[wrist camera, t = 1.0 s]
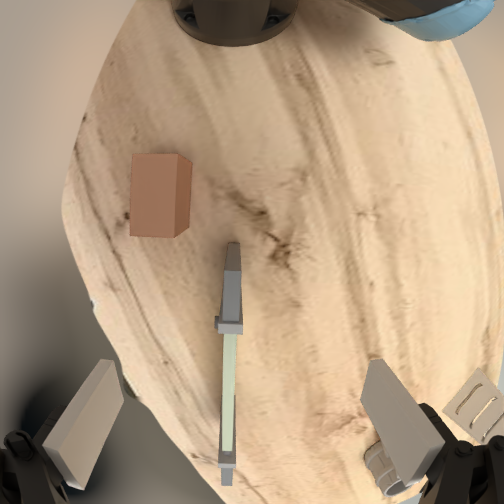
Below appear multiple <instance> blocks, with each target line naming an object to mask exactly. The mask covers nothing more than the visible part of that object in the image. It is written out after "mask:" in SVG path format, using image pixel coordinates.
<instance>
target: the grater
mask: <svg viewBox="0 0 504 504" xmlns="http://www.w3.org/2000/svg"><path fill="white" fill-rule="evenodd" d="M479 383H481V384H482V385H483V386H481V387H478V388H477V389H476V391H475V392H474V393H473V394H472V395H471V397H470V398H469V399H468V400H467V401H466V403H465V404H464V405H463V406H462V407H461V408H460V410H459V413H458V415H457V414H456V413H455V412H456V410H457V407H458V406H459V405H460V404H461V403H462V402H463V400H464V399H465V398H466V397H467V396H468V394H469V393H470V392H471V391H472V390H473V388H474V387H475V386H476V385H478V384H479ZM493 397H495V398H496V399H494V400H492V402H491V403H490V404H489V406H488V407H487V408H486V409H485V410H484V411H483V413H482V414H481V415H480V416H479V417H478V418H477V420H476V421H475V422H474V423H473V424H472V422H473V420H474V418H475V417H476V416H477V415H478V414H479V413H480V411H481V410H482V409H483V408H484V407H485V405H486V404H487V403H488V402H489V401H490V399H492V398H493ZM442 412H443V413H445V414H446V415H447V416H448V417H449V418H450V419H452V420H453V421H454V422H455V423H456V424H457V425H459V426H460V427H461V428H462V429H463V430H464V431H466V432H467V433H468V434H469V435H470V436H471V437H473V438H474V439H475V440H476V441H477V442H478V443H480V444H481V445H485V444H487V443H488V442H489V440H490V439H491V438H492V437H493V436H496V435H502V436H504V396H503V395H502V393H501V392H500V391H499V390H498V389H497V387H496V386H495V385H494V384H493V383H492V382H491V381H490V380H489V379H488V377H487V376H486V375H485V374H484V373H483V372H482V371H481V370H480V369H479V368H477V369H476V371H475V372H474V373H473V374H472V376H471V377H470V378H469V380H468V381H467V382H466V383H465V385H464V386H463V387H462V388H461V389H460V391H459V392H458V393H457V394H456V395H455V396H454V398H453V399H452V400H451V401H450V402H449V403H448V404H447V406H446V407H445V408H444V409H443V410H442ZM502 413H503V414H502ZM501 414H502V415H501ZM500 415H501V416H500ZM499 416H500V417H499ZM497 419H498V420H497ZM496 420H497V421H496ZM495 421H496V422H495ZM494 422H495V423H494ZM493 423H494V424H493ZM491 426H492V427H491ZM490 427H491V428H490ZM489 428H490V429H489ZM488 429H489V430H488ZM487 430H488V431H487ZM486 431H487V433H486ZM485 433H486V436H485V437H484V436H483V435H484V434H485Z"/></svg>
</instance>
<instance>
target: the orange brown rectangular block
mask: <svg viewBox="0 0 504 504" xmlns="http://www.w3.org/2000/svg"><path fill="white" fill-rule="evenodd" d="M191 175H192V163H191V162H190V161H188V160H187V159H186V158H184V157H183V156H181V155H180V154H178V153H157V154H133V158H132V173H131V193H130V236H142V237H165V238H175V237H176V236H178V235H179V234H180V233H182V232H183V231H185V230H186V229H187V228H189V216H190V193H191Z"/></svg>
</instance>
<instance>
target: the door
mask: <svg viewBox="0 0 504 504" xmlns="http://www.w3.org/2000/svg"><path fill="white" fill-rule="evenodd" d="M218 321H219V316H215V328H218ZM236 341H237V334H224V343H223V399H222V451H223V454H224V455H227V456H228V455H231V451H232V443H233V414H234V388H235V364H236Z"/></svg>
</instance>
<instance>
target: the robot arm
mask: <svg viewBox="0 0 504 504" xmlns="http://www.w3.org/2000/svg"><path fill="white" fill-rule="evenodd" d="M345 1H347V2H350V3H352V4H354V5H356V6H358V7H360V8H362V9H363V10H365V11H367V12H369V13H371V14H373V15H375V16H376V17H378V18H379V19H380V20H381V21H382V22H384V23H386V24H390V25H394V26H396V27H397V28H399V29H401V30H403V31H404V32H406V33H408V34H410V35H411V36H413V37H415V38H417V39H419V40H423V41H445V40H449V39H452V38H455V37H457V36H459V35H461V34H464V33H465V32H467V31H469V30H470V29H472V28H473V27H474V26H476V25H477V24H479V23H480V22H481V21H482V20H483V19H484V18H485V17H486V16H487V15H488V14H489V13H490V12H491V10H492V9H493V7H494V3H493V1H495V0H345ZM297 4H298V0H172V8H173V11H174V14H175V17H176V19H177V22H178V23H179V25H180V26H181V27H182V29H183V30H184V31H186V32H187V33H188V34H189V35H191V36H193V37H194V38H196V39H198V40H201V41H203V42H206V43H210V44H214V45H220V46H246V45H252V44H256V43H260V42H263V41H265V40H268V39H270V38H272V37H274V36H276V35H277V34H279V33H280V32H282V31H283V30H284V29H285V28H286V27H287V26H288V25H289V23H290V22H291V20H292V19H293V16H294V14H295V11H296V8H297ZM360 401H361V403H362V405H363V406H364V408H365V410H366V412H367V414H368V416H369V418H370V420H371V421H372V423H373V425H374V427H375V429H376V431H377V433H378V435H379V437H380V439H381V441H382V442H383V444H384V446H385V448H386V450H387V452H388V454H389V456H390V458H391V460H392V462H393V464H394V466H395V468H396V470H397V472H398V474H399V476H400V477H401V479H402V481H403V483H404V485H405V487H407V486H410V485H413V484H416V483H418V482H420V481H421V480H422V478H423V477H424V475H425V474H426V476H427V478H428V481H427V482H426V483H425V485H424V486H423V488H422V489H421V490H420V492H419V493H422V491H423V493H422V496H421V498H420V501H419V504H504V436H502V435H496V436H493V437H492V438H491V439H490V440H489V442H488V443H487V444H485V445H479V446H473V445H472V444H471V443H469V442H467V441H462V440H459V441H458V440H457V439H456V437H455V436H454V435H453V433H452V432H451V431H450V429H449V428H448V427H447V426H446V424H445V423H444V422H442V419H441V418H440V417H439V416H438V414H437V413H436V412H435V410H434V409H433V408H432V407H430V406H429V405H427V404H426V403H422V404H417V403H416V401H415V400H414V399H413V397H412V396H411V395H410V393H409V392H408V391H407V389H406V388H405V387H404V386H403V384H402V383H401V382H400V380H399V379H398V378H397V376H396V375H395V374H394V373H393V371H392V370H391V369H390V367H389V366H388V365H387V364H386V362H385V361H384V360H383V359H377V360H370V363H369V367H368V371H367V375H366V379H365V383H364V387H363V391H362V395H361V398H360ZM123 402H124V399H123V396H122V392H121V388H120V384H119V381H118V377H117V372H116V368H115V364H114V361H112V360H105V359H101V360H100V361H99V362H98V364H97V365H96V367H95V368H94V370H93V371H92V372H91V374H90V375H89V376H88V378H87V379H86V380H85V382H84V383H83V385H82V386H81V388H80V389H79V391H78V392H77V393H76V395H75V396H74V398H73V399H72V401H71V402H70V404H69V405H68V406H63V405H60V406H59V407H57V408H56V409H54V410H53V411H52V412H51V414H50V415H49V417H48V419H47V420H46V421H45V422H44V425H42V427H41V428H40V430H39V431H38V432H37V434H36V436H35V437H34V438H33V440H31V438H30V436H29V434H27V433H26V432H25V431H22V430H15V431H12V432H10V433H9V434H7V435H6V437H5V438H4V445H5V446H6V448H7V450H6V449H1V448H0V504H70V502H69V500H68V498H67V496H66V493H65V491H64V488H63V487H62V485H61V482H62V480H63V478H64V480H65V481H66V482H67V484H68V485H69V486H72V487H75V488H78V489H81V490H84V488H85V486H86V483H87V481H88V479H89V477H90V474H91V472H92V469H93V467H94V465H95V463H96V460H97V458H98V456H99V453H100V451H101V449H102V447H103V444H104V442H105V440H106V438H107V436H108V434H109V432H110V429H111V427H112V425H113V423H114V421H115V419H116V416H117V414H118V412H119V410H120V408H121V406H122V404H123Z"/></svg>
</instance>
